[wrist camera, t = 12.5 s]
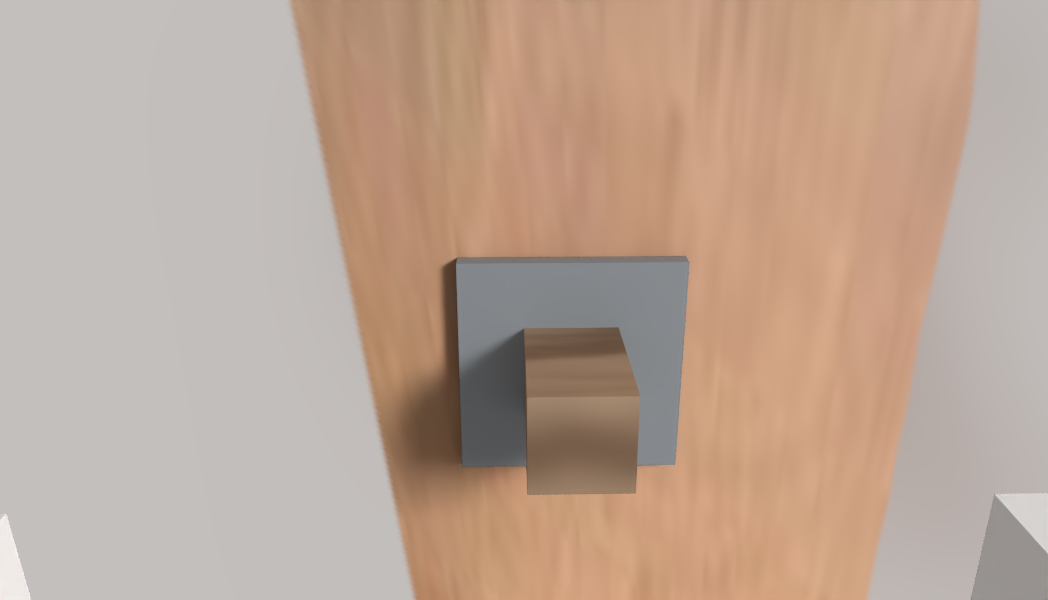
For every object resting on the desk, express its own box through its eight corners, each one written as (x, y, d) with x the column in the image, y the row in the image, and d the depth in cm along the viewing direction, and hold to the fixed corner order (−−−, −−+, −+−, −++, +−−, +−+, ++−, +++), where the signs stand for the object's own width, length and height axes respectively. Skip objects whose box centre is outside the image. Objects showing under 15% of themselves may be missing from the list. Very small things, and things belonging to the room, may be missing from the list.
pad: (457, 257, 45) (456, 263, 44) (685, 256, 45) (689, 262, 44) (463, 457, 49) (462, 466, 48) (671, 455, 49) (675, 464, 48)
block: (524, 328, 45) (526, 397, 38) (618, 327, 45) (640, 396, 38) (524, 412, 47) (527, 494, 39) (615, 411, 47) (635, 493, 39)
